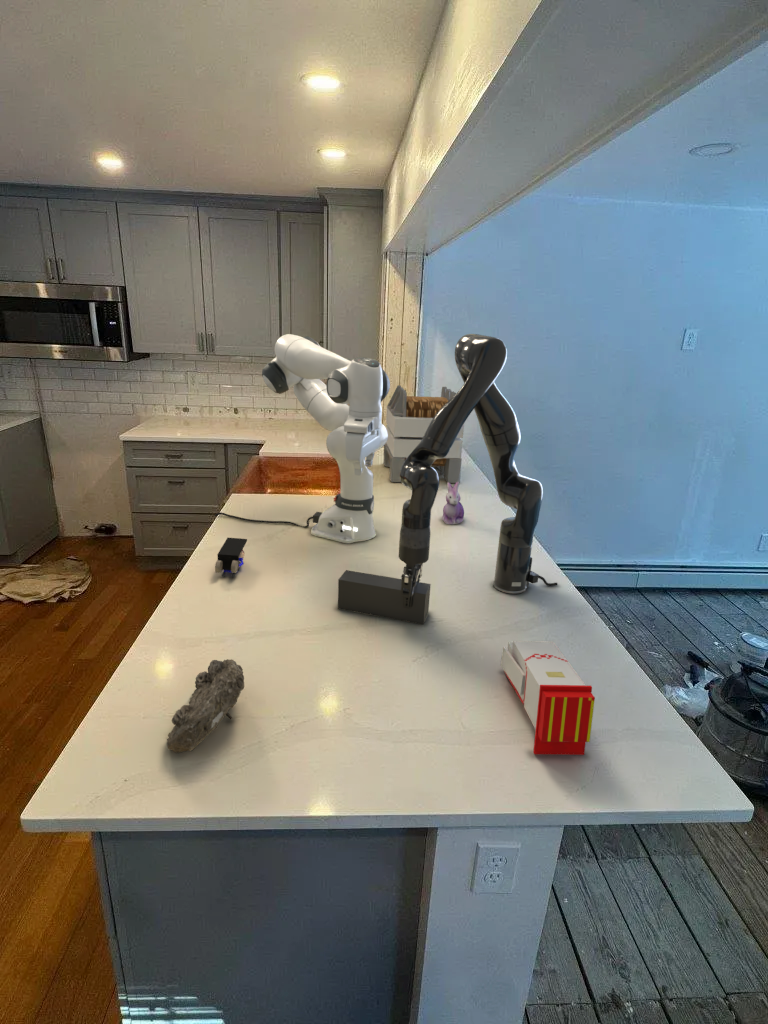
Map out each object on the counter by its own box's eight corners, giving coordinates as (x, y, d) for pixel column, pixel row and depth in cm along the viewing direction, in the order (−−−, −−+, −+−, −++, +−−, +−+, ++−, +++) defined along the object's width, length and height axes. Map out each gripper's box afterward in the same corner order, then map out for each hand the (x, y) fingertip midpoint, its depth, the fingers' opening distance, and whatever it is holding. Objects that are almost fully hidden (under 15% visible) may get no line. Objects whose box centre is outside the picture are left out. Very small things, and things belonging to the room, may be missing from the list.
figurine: (449, 526, 208) (453, 487, 203) (434, 517, 216) (437, 480, 211) (470, 523, 212) (474, 485, 207) (455, 514, 221) (458, 477, 216)
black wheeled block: (238, 584, 162) (249, 557, 175) (236, 562, 158) (247, 536, 172) (215, 584, 161) (227, 556, 175) (212, 561, 158) (225, 535, 171)
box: (337, 608, 149) (338, 579, 146) (345, 598, 154) (346, 569, 151) (423, 624, 143) (425, 594, 140) (428, 613, 149) (430, 583, 146)
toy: (549, 624, 127) (604, 693, 98) (544, 678, 130) (596, 762, 100) (496, 622, 127) (535, 692, 97) (491, 677, 129) (528, 761, 100)
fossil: (192, 660, 117) (244, 628, 112) (224, 691, 120) (276, 661, 115) (142, 746, 98) (202, 712, 93) (182, 779, 101) (242, 748, 96)
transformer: (382, 463, 289) (386, 382, 275) (445, 464, 293) (451, 384, 279) (390, 482, 257) (394, 392, 243) (460, 483, 261) (468, 394, 247)
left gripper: (365, 413, 162) (364, 460, 167) (341, 426, 144) (340, 478, 148) (386, 415, 161) (384, 462, 166) (365, 428, 142) (363, 481, 147)
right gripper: (423, 554, 132) (418, 617, 138) (435, 533, 145) (430, 591, 151) (392, 550, 134) (389, 612, 140) (406, 529, 147) (403, 586, 153)
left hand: (363, 470), depth 157 cm, fingers open, 8 cm apart
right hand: (410, 601), depth 145 cm, fingers open, 6 cm apart
